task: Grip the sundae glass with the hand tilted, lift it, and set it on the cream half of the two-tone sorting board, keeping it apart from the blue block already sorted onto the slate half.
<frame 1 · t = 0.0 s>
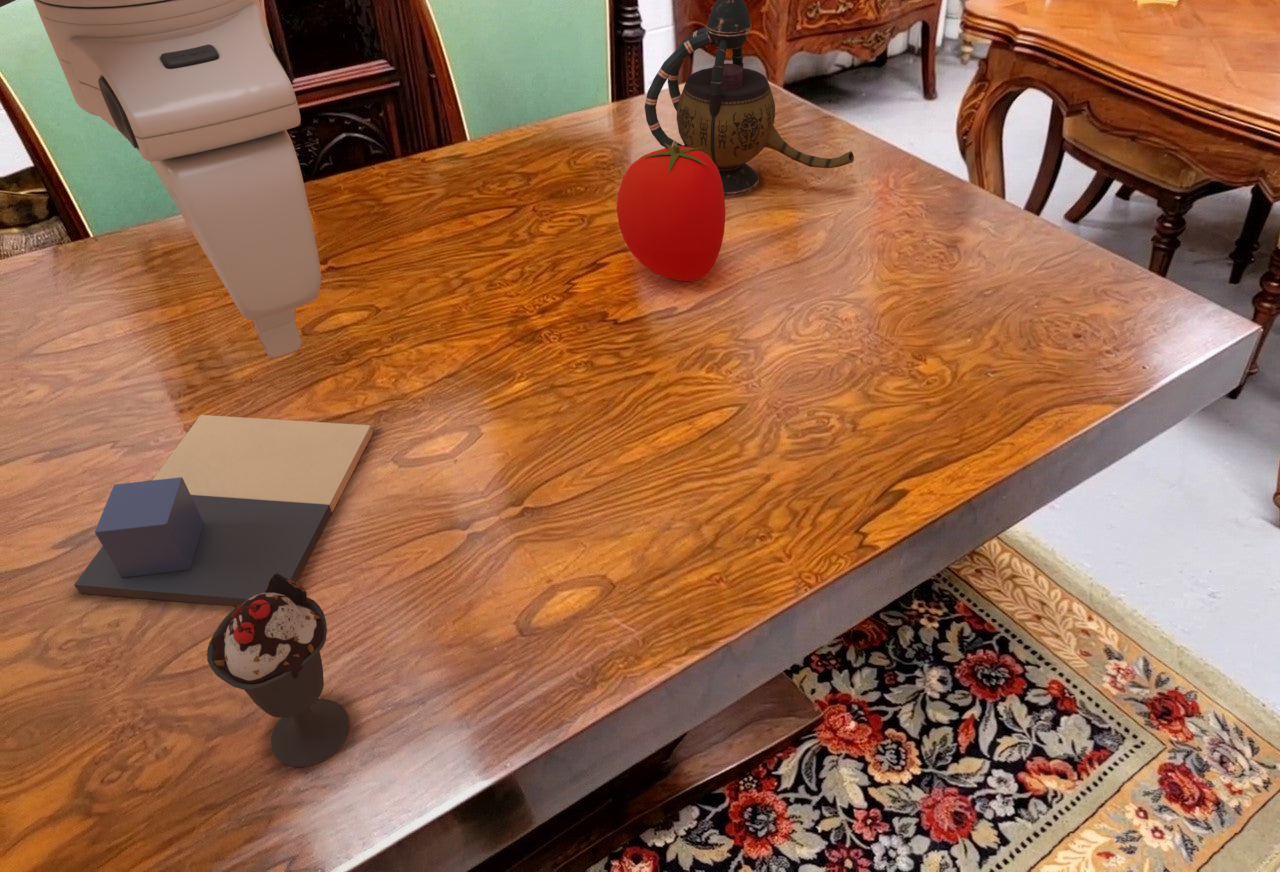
hand: (256, 306, 51), 26 cm above the table, tool pointing down, fingers open, 8 cm apart
teapot: (750, 185, 119), on the table
blue block: (163, 549, 72), point 1 cm above the table, touching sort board
tomato: (672, 272, 104), on the table
sundae: (312, 735, 61), on the table
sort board: (239, 506, 77), on the table
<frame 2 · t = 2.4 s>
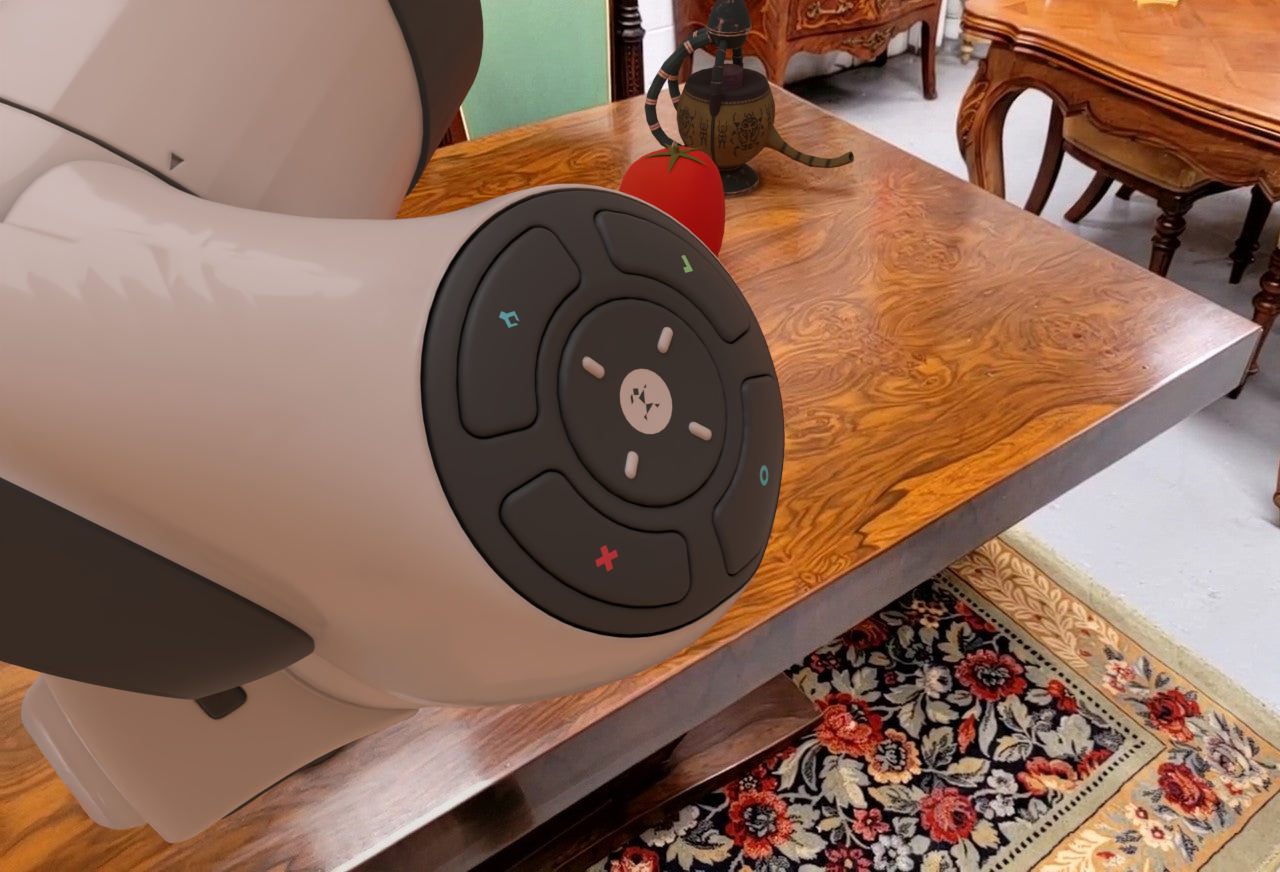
hand: (310, 599, 39), 23 cm above the table, tool tilted 45°, fingers open, 8 cm apart
nothing on the table moved.
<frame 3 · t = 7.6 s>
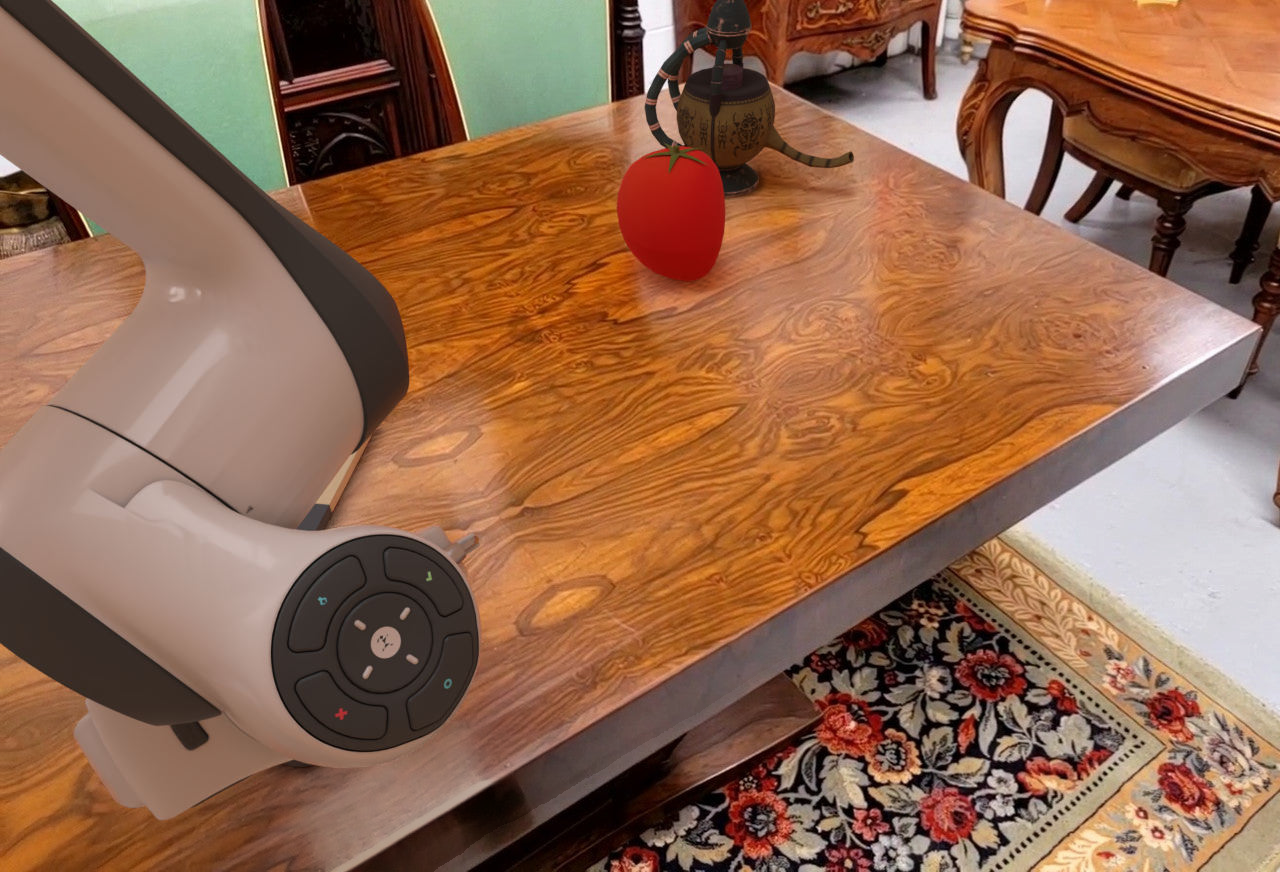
hand: (270, 649, 55), 8 cm above the table, tool tilted 45°, fingers closed on sundae, 6 cm apart
sundae: (312, 735, 61), on the table, touching gripper
everything else where it was.
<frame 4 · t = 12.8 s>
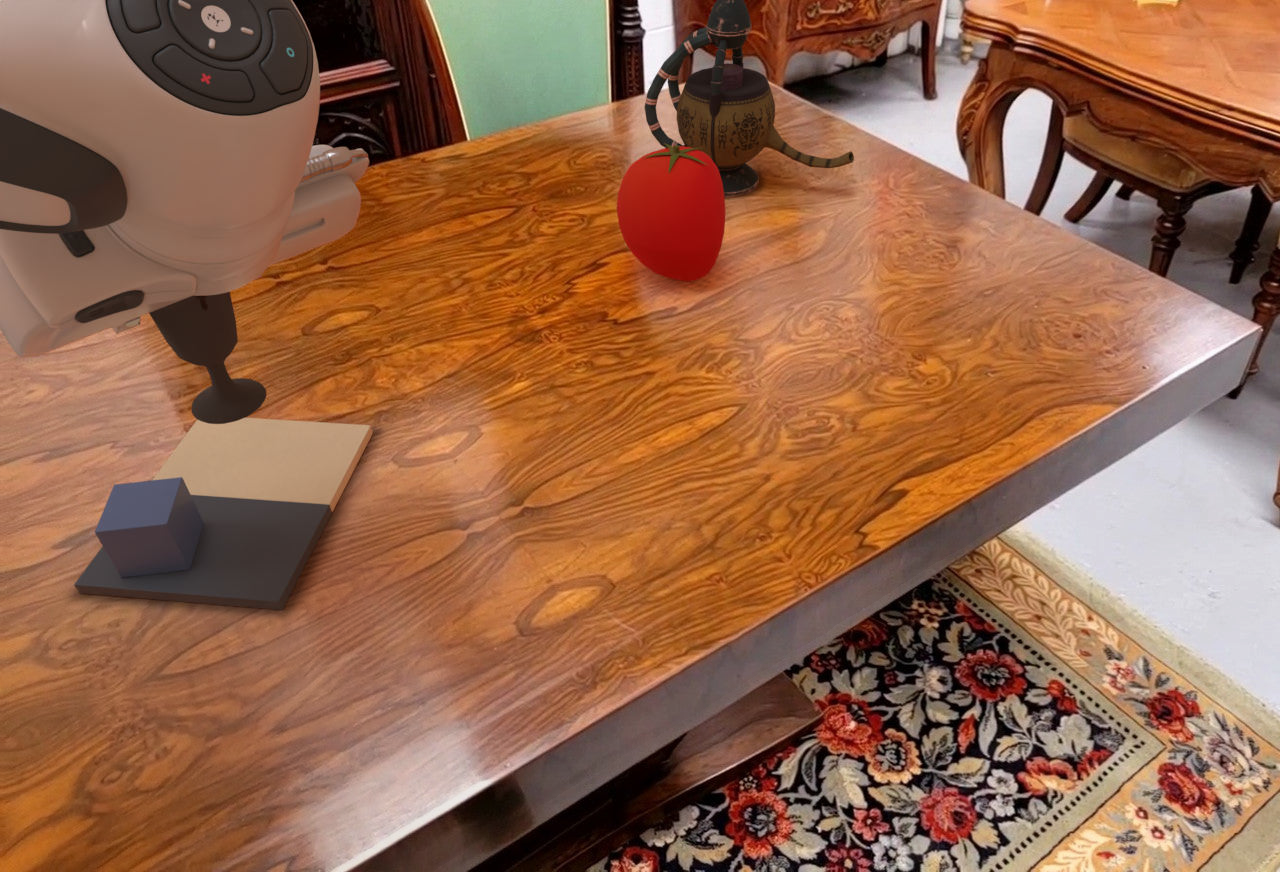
hand: (183, 294, 59), 22 cm above the table, tool tilted 45°, fingers closed on sundae, 6 cm apart
sundae: (230, 404, 64), point 14 cm above the table, touching gripper
everything else where it was.
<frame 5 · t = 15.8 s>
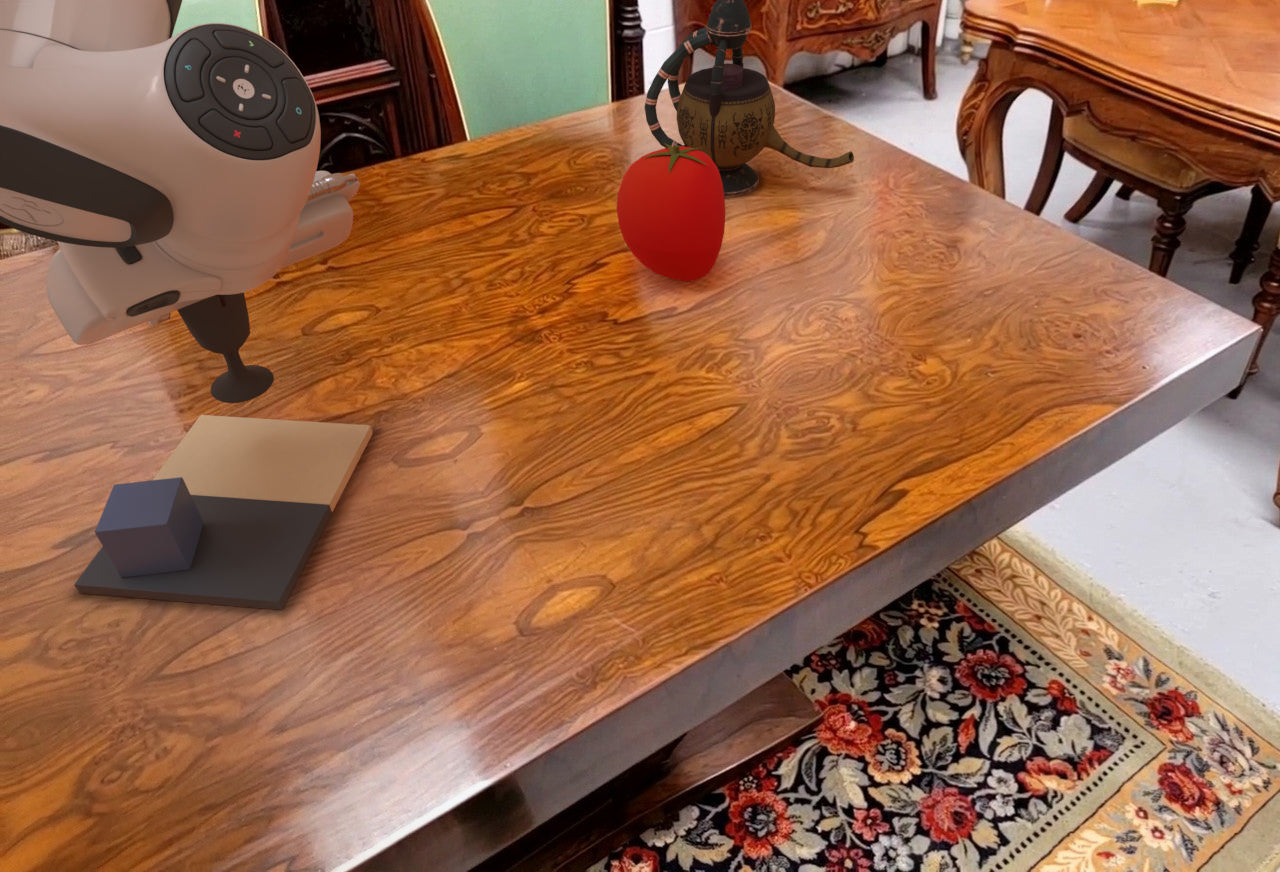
hand: (205, 294, 71), 16 cm above the table, tool tilted 45°, fingers closed on sundae, 6 cm apart
sundae: (243, 387, 76), point 8 cm above the table, touching gripper
everything else where it was.
when the fingers open (9 cm above the table, at t = 18.3 s): sundae stays where it is, resting on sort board.
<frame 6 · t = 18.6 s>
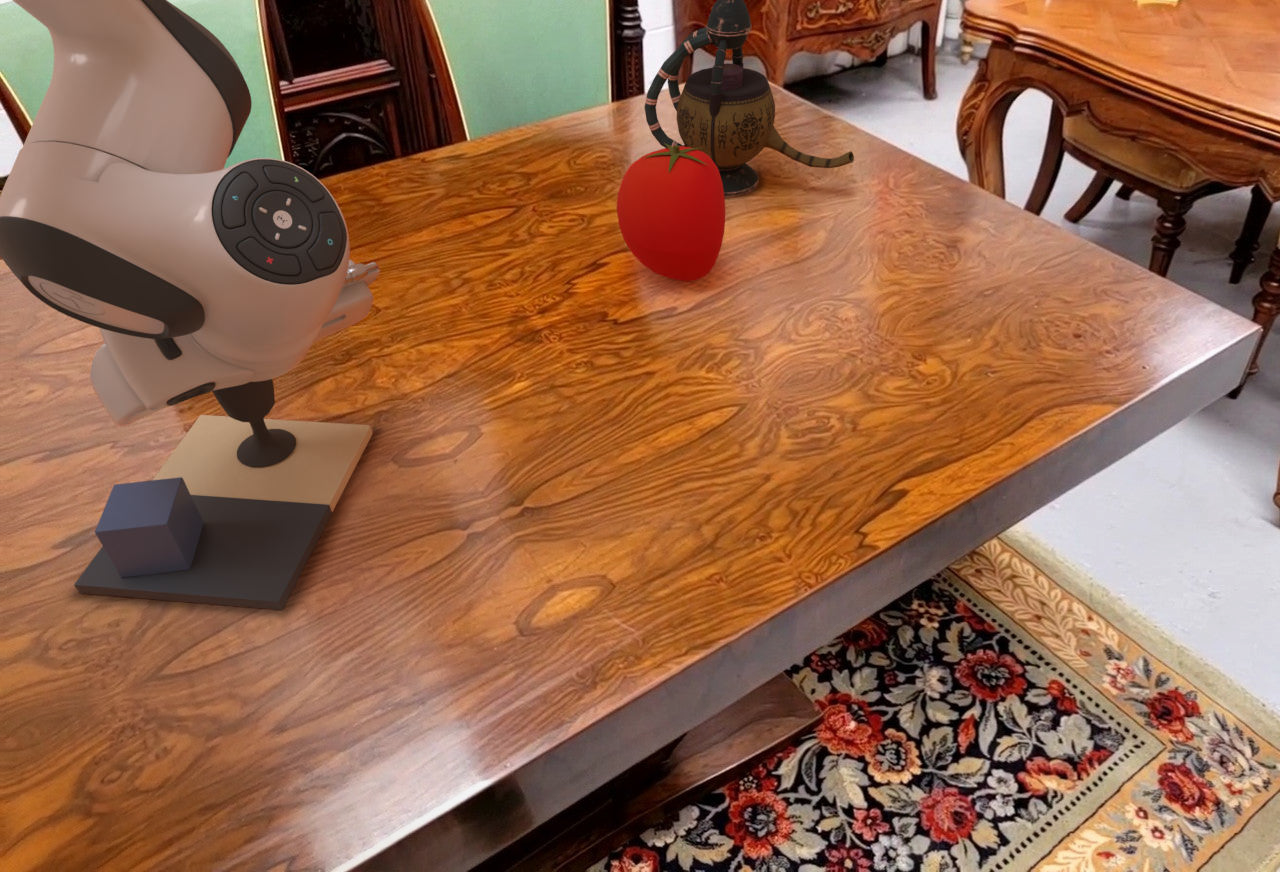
hand: (233, 367, 75), 9 cm above the table, tool tilted 45°, fingers open, 8 cm apart
sundae: (267, 450, 81), point 1 cm above the table, touching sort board
everything else where it was.
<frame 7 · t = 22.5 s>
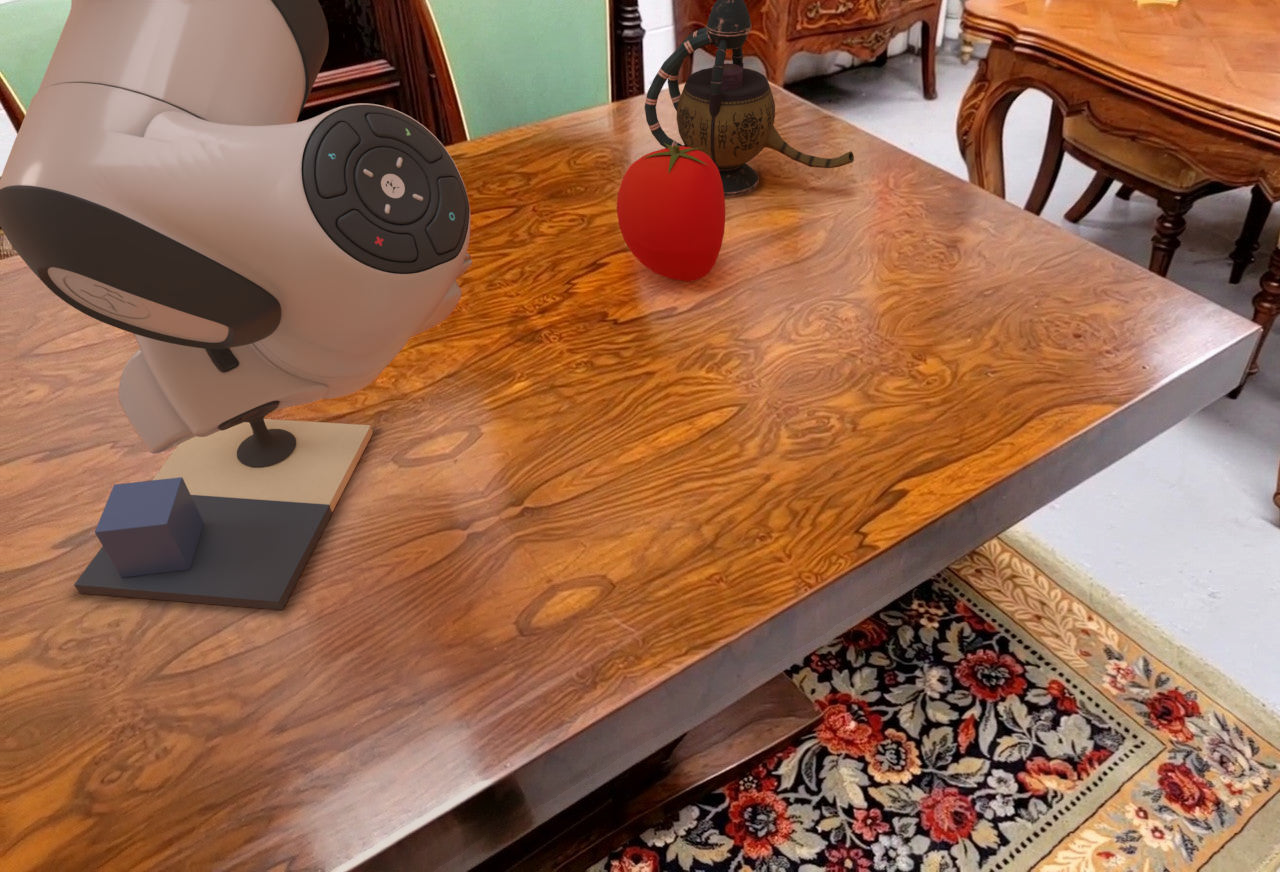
hand: (285, 379, 62), 16 cm above the table, tool tilted 45°, fingers open, 8 cm apart
nothing on the table moved.
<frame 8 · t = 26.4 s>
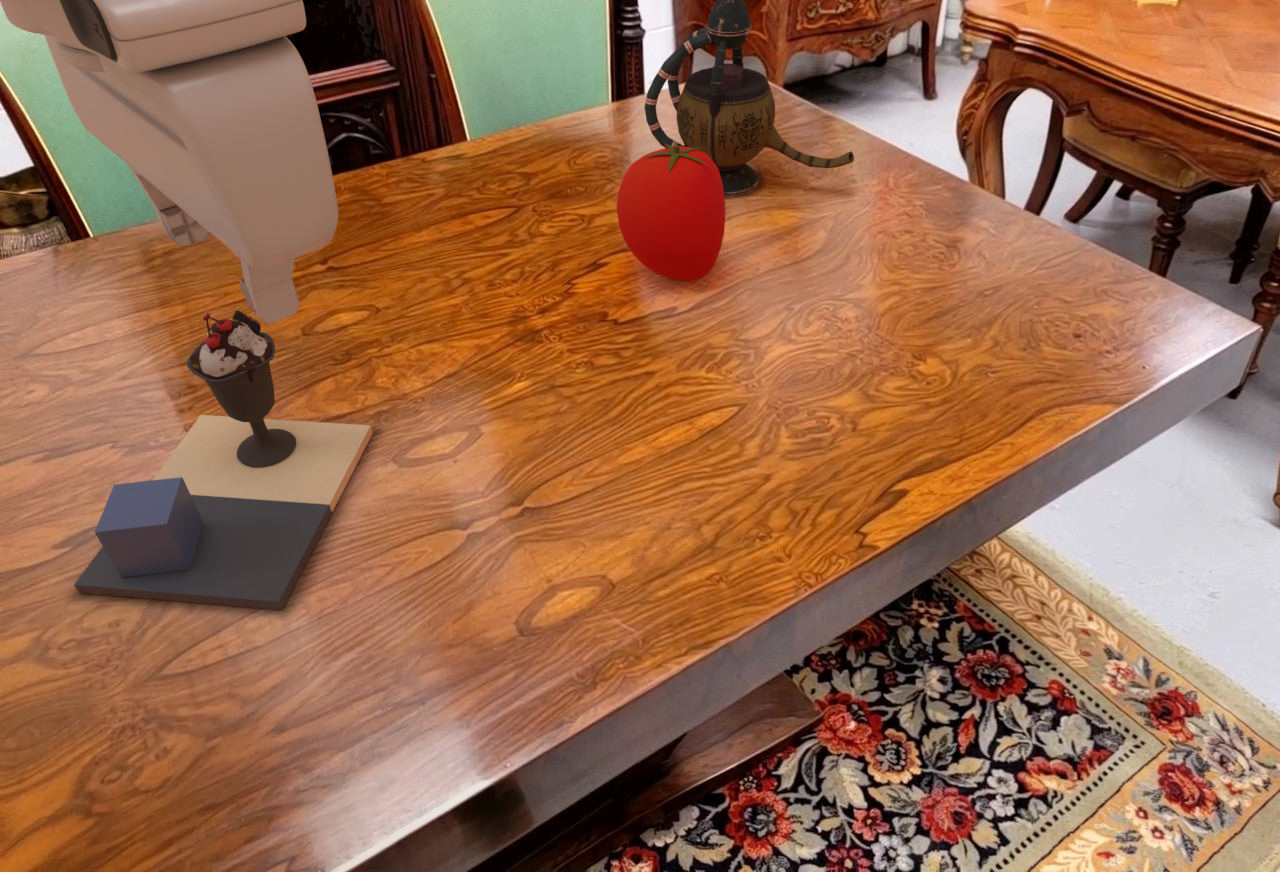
hand: (230, 273, 44), 31 cm above the table, tool pointing down, fingers open, 8 cm apart
nothing on the table moved.
at the end: sundae inside the target area on the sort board (0.5 cm from its centre), point 0.8 cm above the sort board's base; sundae tilted 0°; blue block moved 0.0 cm from its start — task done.
